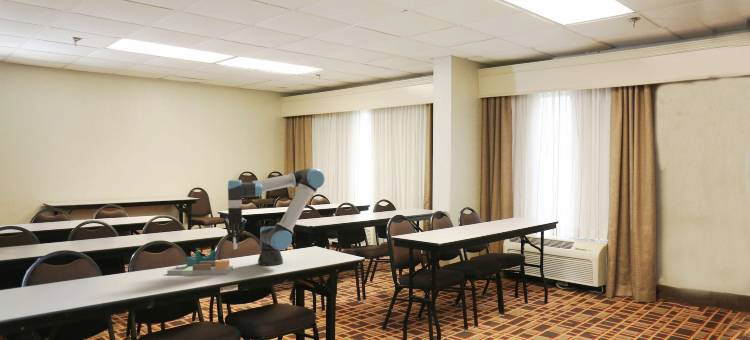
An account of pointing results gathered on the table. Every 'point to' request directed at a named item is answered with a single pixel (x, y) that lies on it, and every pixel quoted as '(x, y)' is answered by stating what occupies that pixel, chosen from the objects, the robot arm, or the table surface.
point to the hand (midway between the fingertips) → (235, 248)
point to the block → (222, 264)
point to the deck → (199, 269)
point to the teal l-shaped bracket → (200, 258)
